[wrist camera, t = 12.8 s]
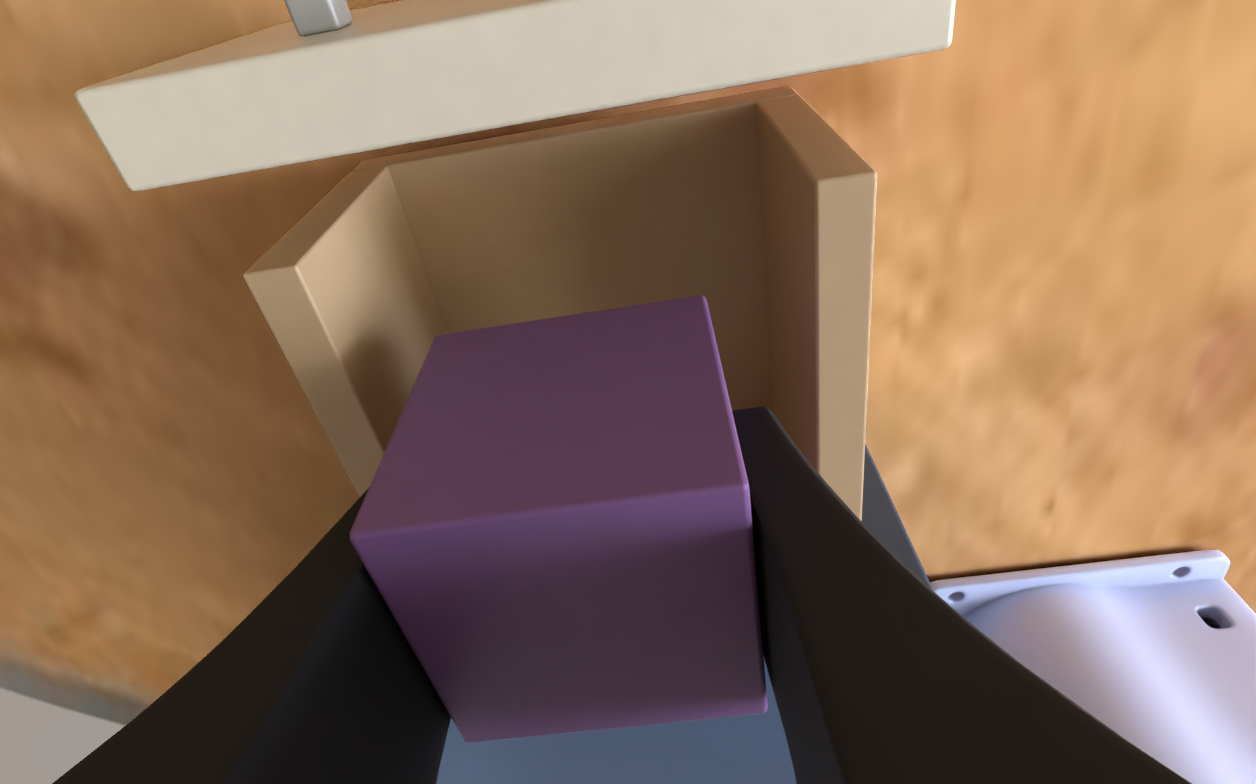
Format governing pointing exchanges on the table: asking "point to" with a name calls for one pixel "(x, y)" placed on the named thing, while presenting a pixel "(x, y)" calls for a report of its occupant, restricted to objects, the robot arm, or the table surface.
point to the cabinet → (670, 752)
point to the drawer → (544, 187)
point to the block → (572, 526)
